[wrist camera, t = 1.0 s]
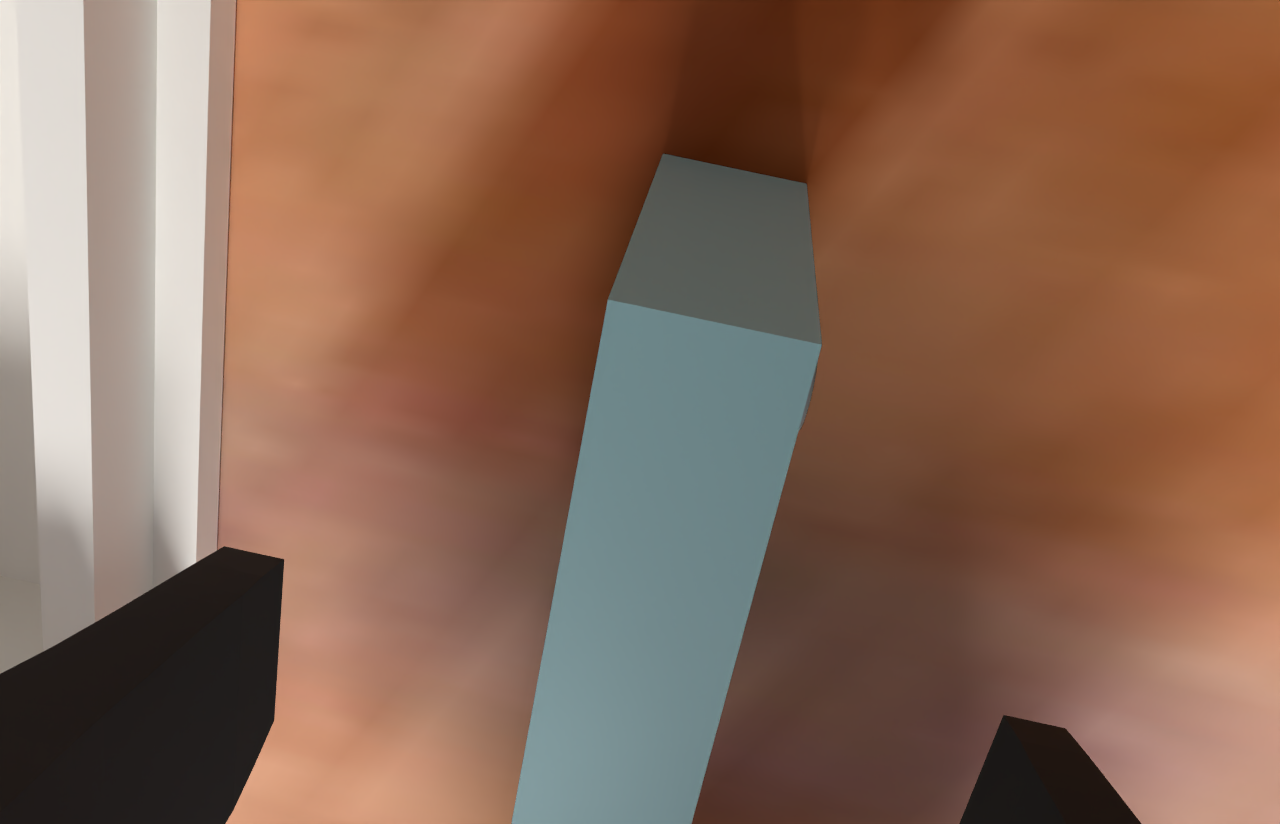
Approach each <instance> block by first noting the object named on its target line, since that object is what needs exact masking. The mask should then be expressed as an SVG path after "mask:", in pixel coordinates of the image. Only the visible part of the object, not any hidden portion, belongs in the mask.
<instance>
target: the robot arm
mask: <svg viewBox="0 0 1280 824" xmlns="http://www.w3.org/2000/svg"><path fill="white" fill-rule="evenodd" d="M283 569H284V559H280V558H275V557H271V556H266V555H261V554H257V553H252V552H248V551H243V550H238V549H234V548H229V547H222V548H221V549H219V550H217V551H215V552H213V553H212V554H210V555H208V556H206V557H205V558H203V559H201V560H200V561H198V562H196V563H195V564H193V565H191V566H190V567H188V568H186V569H184V570H183V571H181V572H179V573H178V574H176V575H174V576H173V577H171V578H169V579H168V580H166V581H164V582H163V583H161V584H159V585H158V586H156V587H154V588H153V589H151V590H149V591H148V592H146V593H144V594H143V595H141V596H139V597H137V598H136V599H134V600H132V601H131V602H129V603H127V604H126V605H124V606H122V607H121V608H119V609H117V610H116V611H114V612H112V613H110V614H109V615H107V616H105V617H104V618H102V619H100V620H98V621H97V622H95V623H93V624H91V625H90V626H88V627H86V628H84V629H83V630H81V631H79V632H77V633H76V634H74V635H72V636H70V637H69V638H67V639H65V640H63V641H62V642H60V643H58V644H56V645H54V646H53V647H51V648H49V649H47V650H45V651H43V652H41V653H39V654H37V655H35V656H34V657H32V658H30V659H28V660H26V661H24V662H22V663H20V664H18V665H16V666H14V667H12V668H10V669H8V670H6V671H4V672H3V673H1V674H0V824H225V823H226V821H227V820H228V818H229V816H230V815H231V813H232V811H233V810H234V807H235V805H236V803H237V801H238V799H239V797H240V795H241V793H242V790H243V788H244V786H245V784H246V782H247V780H248V778H249V776H250V773H251V771H252V769H253V767H254V765H255V762H256V760H257V758H258V756H259V753H260V751H261V749H262V747H263V744H264V742H265V740H266V737H267V735H268V733H269V731H270V728H271V726H272V724H273V722H274V713H275V697H276V681H277V665H278V649H279V633H280V617H281V601H282V585H283ZM960 824H1141V823H1140V821H1139V820H1138V819H1137V818H1136V816H1135V815H1134V814H1133V812H1132V811H1131V810H1130V809H1129V807H1128V806H1127V805H1126V803H1125V802H1124V801H1123V800H1122V798H1121V797H1120V796H1119V795H1118V793H1117V792H1116V791H1115V789H1114V788H1113V787H1112V786H1111V784H1110V783H1109V782H1108V780H1107V779H1106V778H1105V777H1104V775H1103V774H1102V773H1101V771H1100V770H1099V769H1098V768H1097V766H1096V765H1095V764H1094V763H1093V761H1092V760H1091V759H1090V757H1089V756H1088V755H1087V754H1086V752H1085V751H1084V750H1083V749H1082V748H1081V746H1080V745H1079V744H1078V743H1077V742H1076V740H1075V739H1074V738H1073V737H1072V736H1071V734H1070V733H1069V732H1068V731H1067V730H1066V729H1065V728H1061V727H1056V726H1051V725H1047V724H1042V723H1037V722H1033V721H1028V720H1024V719H1019V718H1014V717H1010V716H1005V715H1004V716H1003V718H1002V721H1001V723H1000V725H999V728H998V730H997V733H996V735H995V738H994V740H993V743H992V745H991V748H990V750H989V753H988V755H987V757H986V760H985V762H984V765H983V767H982V770H981V772H980V775H979V777H978V780H977V782H976V784H975V787H974V789H973V792H972V794H971V797H970V799H969V802H968V804H967V807H966V809H965V812H964V814H963V816H962V819H961V821H960Z"/></svg>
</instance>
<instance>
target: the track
mask: <svg viewBox="0 0 1280 824" xmlns="http://www.w3.org/2000/svg"><path fill="white" fill-rule="evenodd" d="M235 21H236V0H0V674H1V673H3V672H4V671H6V670H8V669H10V668H12V667H14V666H16V665H18V664H20V663H22V662H24V661H26V660H28V659H30V658H32V657H34V656H35V655H37V654H39V653H41V652H43V651H45V650H47V649H49V648H51V647H53V646H54V645H56V644H58V643H60V642H62V641H63V640H65V639H67V638H69V637H70V636H72V635H74V634H76V633H77V632H79V631H81V630H83V629H84V628H86V627H88V626H90V625H91V624H93V623H95V622H97V621H98V620H100V619H102V618H104V617H105V616H107V615H109V614H110V613H112V612H114V611H116V610H117V609H119V608H121V607H122V606H124V605H126V604H127V603H129V602H131V601H132V600H134V599H136V598H137V597H139V596H141V595H143V594H144V593H146V592H148V591H149V590H151V589H153V588H154V587H156V586H158V585H159V584H161V583H163V582H164V581H166V580H168V579H169V578H171V577H173V576H174V575H176V574H178V573H179V572H181V571H183V570H184V569H186V568H188V567H190V566H191V565H193V564H195V563H196V562H198V561H200V560H201V559H203V558H205V557H206V556H208V555H210V554H212V553H213V552H215V551H217V534H218V505H219V477H220V448H221V420H222V391H223V363H224V334H225V306H226V278H227V249H228V221H229V192H230V164H231V135H232V107H233V78H234V50H235Z"/></svg>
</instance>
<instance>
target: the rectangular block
mask: <svg viewBox="0 0 1280 824" xmlns="http://www.w3.org/2000/svg"><path fill="white" fill-rule="evenodd" d="M821 346H822V340H821V330H820V319H819V308H818V298H817V287H816V277H815V266H814V255H813V245H812V234H811V224H810V213H809V202H808V192H807V184H806V183H801V182H796V181H791V180H787V179H782V178H777V177H772V176H768V175H763V174H758V173H753V172H749V171H744V170H739V169H734V168H730V167H725V166H720V165H715V164H711V163H706V162H701V161H696V160H692V159H687V158H682V157H677V156H673V155H668V154H663V155H662V158H661V160H660V163H659V166H658V168H657V171H656V173H655V176H654V179H653V181H652V184H651V187H650V189H649V192H648V195H647V197H646V200H645V203H644V205H643V208H642V211H641V213H640V216H639V218H638V221H637V224H636V226H635V229H634V232H633V234H632V237H631V240H630V242H629V245H628V248H627V250H626V253H625V255H624V258H623V261H622V263H621V266H620V269H619V271H618V274H617V277H616V279H615V282H614V285H613V287H612V290H611V293H610V295H609V298H608V302H607V307H606V312H605V318H604V323H603V329H602V334H601V340H600V345H599V350H598V356H597V361H596V367H595V372H594V378H593V383H592V388H591V394H590V399H589V405H588V410H587V416H586V421H585V426H584V432H583V437H582V443H581V448H580V454H579V459H578V464H577V470H576V475H575V481H574V486H573V492H572V497H571V502H570V508H569V513H568V519H567V524H566V530H565V535H564V540H563V546H562V551H561V557H560V562H559V568H558V573H557V579H556V584H555V589H554V595H553V600H552V606H551V611H550V617H549V622H548V627H547V633H546V638H545V644H544V649H543V655H542V660H541V665H540V671H539V676H538V682H537V687H536V693H535V698H534V703H533V709H532V714H531V720H530V725H529V731H528V736H527V741H526V747H525V752H524V758H523V763H522V769H521V774H520V779H519V785H518V790H517V796H516V801H515V807H514V812H513V817H512V823H511V824H691V823H692V820H693V816H694V812H695V809H696V805H697V801H698V798H699V794H700V790H701V787H702V783H703V779H704V776H705V772H706V768H707V765H708V761H709V757H710V754H711V750H712V746H713V743H714V739H715V735H716V732H717V728H718V724H719V721H720V717H721V713H722V710H723V706H724V702H725V699H726V695H727V691H728V688H729V684H730V680H731V677H732V673H733V669H734V666H735V662H736V658H737V655H738V651H739V647H740V644H741V640H742V636H743V633H744V629H745V625H746V622H747V618H748V614H749V611H750V607H751V603H752V599H753V596H754V592H755V588H756V585H757V581H758V577H759V574H760V570H761V566H762V563H763V559H764V555H765V552H766V548H767V544H768V541H769V537H770V533H771V530H772V526H773V522H774V519H775V515H776V511H777V508H778V504H779V500H780V497H781V493H782V489H783V486H784V482H785V478H786V475H787V471H788V467H789V464H790V460H791V456H792V453H793V449H794V445H795V442H796V438H797V434H798V431H799V430H800V429H801V427H802V425H803V423H804V420H805V417H806V414H807V411H808V407H809V403H810V400H811V396H812V391H813V387H814V382H815V376H816V370H817V364H818V357H819V354H820V350H821Z"/></svg>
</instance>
